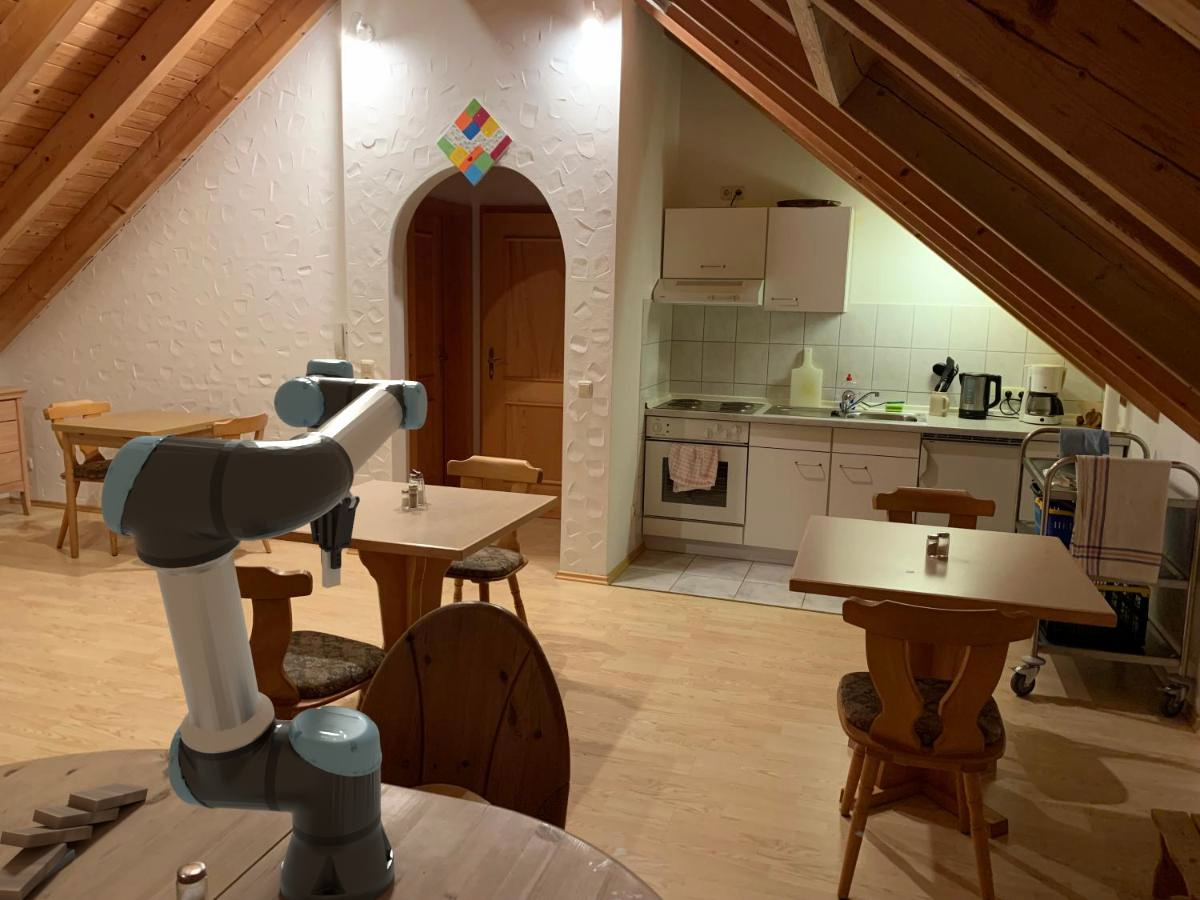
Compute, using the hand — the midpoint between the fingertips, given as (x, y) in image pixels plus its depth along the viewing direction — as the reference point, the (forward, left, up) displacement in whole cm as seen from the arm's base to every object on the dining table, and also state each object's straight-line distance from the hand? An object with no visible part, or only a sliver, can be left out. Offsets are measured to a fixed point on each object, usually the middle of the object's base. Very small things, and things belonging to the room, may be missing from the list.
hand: (331, 585), depth 157 cm
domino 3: (0, +46, -27) cm, 54 cm away
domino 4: (+5, +37, -28) cm, 46 cm away
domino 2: (0, +45, -29) cm, 53 cm away
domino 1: (+2, +41, -28) cm, 50 cm away
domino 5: (+8, +31, -28) cm, 43 cm away
